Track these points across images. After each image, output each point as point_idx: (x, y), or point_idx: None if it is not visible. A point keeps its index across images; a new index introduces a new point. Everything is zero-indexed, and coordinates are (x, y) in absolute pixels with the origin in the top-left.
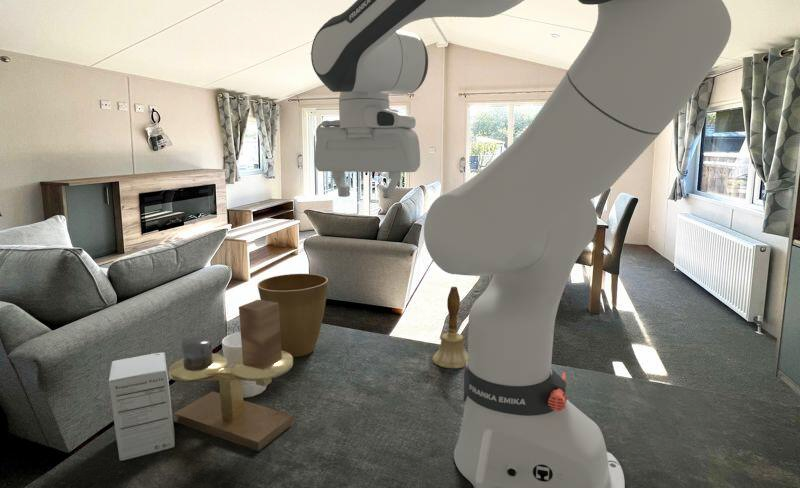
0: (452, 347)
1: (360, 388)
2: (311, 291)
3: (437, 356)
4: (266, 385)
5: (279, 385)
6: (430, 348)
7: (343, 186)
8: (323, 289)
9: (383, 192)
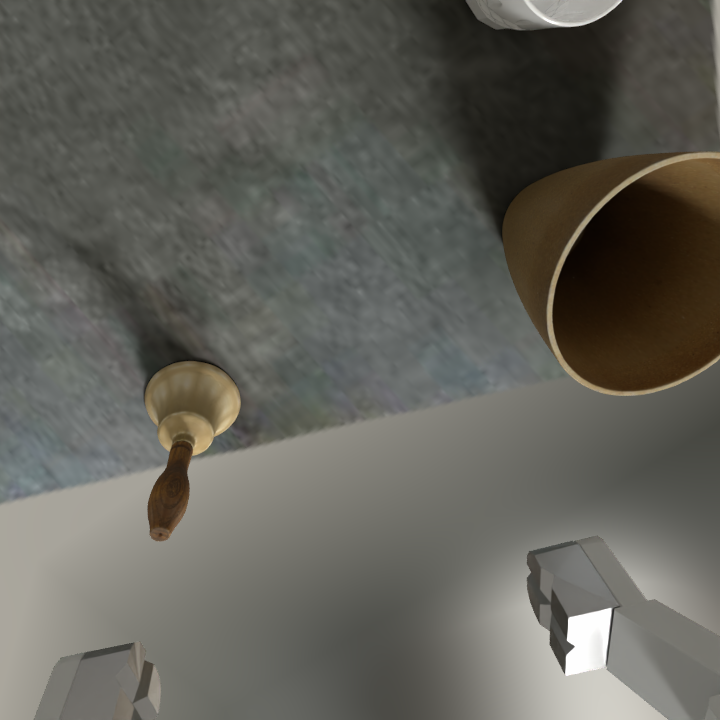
0: (169, 405)
1: (268, 161)
2: (551, 261)
3: (210, 381)
4: (471, 7)
5: (450, 43)
6: (273, 419)
7: (612, 644)
8: (540, 317)
9: (117, 685)
